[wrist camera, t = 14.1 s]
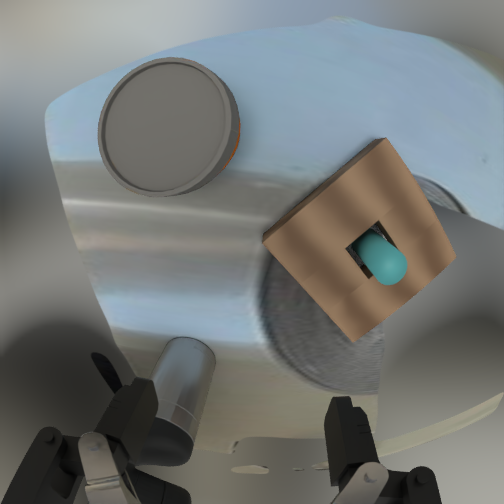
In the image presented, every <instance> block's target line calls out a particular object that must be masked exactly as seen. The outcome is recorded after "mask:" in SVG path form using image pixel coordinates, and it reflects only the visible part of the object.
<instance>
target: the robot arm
mask: <svg viewBox="0 0 504 504" xmlns="http://www.w3.org/2000/svg"><path fill="white" fill-rule="evenodd" d="M215 364H216V362H215V357H214V354H213V353H212V351H211V350H210V349H209V348H208V347H207V346H206V345H204V344H203V343H201V342H199V341H198V340H195V339H192V338H186V337H180V338H175V339H173V340H171V341H170V342H169V343H168V344H167V345H166V347H165V349H164V351H163V353H162V355H161V356H160V358H159V360H158V362H157V364H156V366H155V368H154V370H153V372H152V374H151V375H150V377H149V379H145V378H141V377H136V378H135V379H134V381H133V382H132V384H131V386H128V385H124V386H123V387H122V388H121V389H119V390H118V391H117V392H116V394H115V396H114V397H113V400H112V401H111V402H110V404H109V407H108V408H107V409H106V411H105V413H104V415H103V417H102V418H101V420H100V422H99V423H98V425H97V427H96V429H95V430H94V431H93V432H90V433H86V434H84V435H83V436H82V437H72V436H65V435H62V434H61V432H60V431H59V430H58V429H56V428H54V427H45V428H43V429H41V430H40V431H39V433H38V434H37V436H36V438H35V439H34V441H33V443H32V444H31V446H30V448H29V450H28V452H27V453H26V455H25V457H24V459H23V461H22V463H21V464H20V466H19V468H18V470H17V472H16V474H15V476H14V478H13V480H12V482H11V484H10V486H9V488H8V490H7V492H6V494H5V496H4V498H3V500H2V503H1V504H73V502H74V499H75V496H76V494H77V491H78V489H79V486H80V484H81V481H82V479H83V476H85V477H86V480H87V485H86V486H85V490H86V494H87V498H88V504H191V497H190V494H189V493H188V491H187V490H185V489H183V488H182V487H179V486H177V485H174V484H171V483H169V482H166V481H163V480H161V479H159V478H156V477H154V476H152V475H149V474H147V473H144V472H142V471H140V470H137V469H136V468H135V466H139V465H159V466H179V465H182V464H185V463H186V462H187V461H188V460H189V459H190V456H191V453H192V450H193V446H194V442H195V438H196V435H197V431H198V427H199V423H200V420H201V416H202V412H203V408H204V405H205V401H206V397H207V394H208V390H209V386H210V383H211V379H212V376H213V372H214V368H215ZM324 430H325V438H326V446H327V453H328V463H329V472H330V481H331V486H339V493H338V494H337V496H336V497H335V498H334V500H333V501H332V502H331V503H330V504H442V502H441V498H440V494H439V489H438V486H437V482H436V478H435V474H434V473H433V471H432V470H431V469H429V468H427V467H424V466H420V467H416V468H414V469H412V470H411V471H410V472H400V471H391V470H388V469H386V467H385V466H383V465H382V464H380V462H379V460H378V456H377V452H376V448H375V444H374V440H373V437H372V433H371V429H370V426H369V422H368V418H367V415H366V413H365V412H364V411H363V410H362V409H361V407H353V405H352V401H351V398H350V397H349V396H342V397H333V398H332V399H331V402H330V405H329V408H328V411H327V413H326V416H325V421H324Z"/></svg>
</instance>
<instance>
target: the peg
mask: <svg viewBox="0 0 504 504" xmlns="http://www.w3.org/2000/svg"><path fill="white" fill-rule="evenodd" d="M351 245H352V248H353V250H354V251H355V252H356V253H357V255H358V256H359V257H360V258H361V260H362V261H363V262H364V263H365V265H366V266H367V267H368V268H369V270H370V271H371V272H372V274H373V275H374V276H375V277H376V279H377V280H378V281H379V282H380V283H381V284H384V285H393V284H395V283H397V282H399V281H400V280H401V279H402V278H403V277H404V275H405V273H406V270H407V260H406V257H405V256H404V255H403V254H402V253H401V252H400V251H399V250H398V249H396V248H395V247H394V246H393V245H392V244H390V243H389V242H388V241H386V240H385V239H384V238H383V237H382V236H380V235H379V234H378V233H377V232H375V231H374V230H373V229H371V228H369V229H368V230H366V231H365V232H364V233H363V234H362V235H360V236H359V237H358V238H357V239H356V240H355V241H353V242H352V243H351Z"/></svg>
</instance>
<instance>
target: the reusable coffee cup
mask: <svg viewBox="0 0 504 504" xmlns="http://www.w3.org/2000/svg"><path fill="white" fill-rule="evenodd" d="M239 138H240V118H239V112H238V107H237V104H236V101H235V99H234V96H233V94H232V92H231V91H230V89H229V88H228V86H227V85H226V84H225V82H224V81H222V80H221V79H220V78H219V77H218V76H217V75H216V74H214V73H213V72H212V71H210V70H209V69H208V68H206V67H204V66H203V65H201V64H199V63H197V62H195V61H192V60H188V59H184V58H174V57H167V58H161V59H155V60H152V61H149V62H147V63H144V64H142V65H140V66H138V67H137V68H135V69H133V70H132V71H130V72H129V73H128V74H127V75H125V76H124V77H123V78H122V79H121V80H120V81H119V82H118V83H117V85H116V86H115V87H114V88H113V89H112V91H111V93H110V94H109V96H108V98H107V99H106V101H105V104H104V106H103V109H102V111H101V114H100V119H99V124H98V145H99V151H100V154H101V157H102V160H103V163H104V164H105V166H106V168H107V170H108V172H109V173H110V174H111V175H112V177H113V178H114V179H115V180H116V181H117V182H118V183H119V184H121V185H122V186H123V187H125V188H126V189H128V190H130V191H132V192H134V193H137V194H140V195H144V196H149V197H166V196H176V195H181V194H186V193H189V192H191V191H194V190H196V189H199V188H200V187H202V186H204V185H205V184H207V183H208V182H210V181H211V180H212V179H213V178H214V177H215V176H217V175H218V174H219V173H220V172H221V171H222V170H223V169H224V168H225V167H226V165H227V164H228V163H229V161H230V160H231V158H232V157H233V155H234V153H235V151H236V149H237V146H238V142H239Z"/></svg>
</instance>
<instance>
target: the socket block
mask: <svg viewBox="0 0 504 504" xmlns="http://www.w3.org/2000/svg"><path fill="white" fill-rule="evenodd" d="M375 223H376V225H377V226H378V227H379V229H380V230H381V232H382V233H383V235H384V236H385V238H386V239H387V241H388V242H389V243H390V244H392V245H393V246H394V247H395V248H396V249H398V250H399V251H400V252H401V253H402V254H403V255H404V256H405V257H406V260H407V270H406V273H405V275H404V277H403V278H402V279H401V280H400V281H399V282H397V283H395V284H393V285H384V284H381V283H380V282H379V281H378V280H377V279H376V277H375V276H374V275H373V274H372V272H371V271H370V270H369V268H368V267H367V266H366V265H365V264H364V265H363V266H362V267H361V268H360V267H359V266H358V265H357V263H356V262H355V261H354V259H353V258H352V257H351V255H350V254H349V253H348V252H347V250H346V249H345V248H346V247H347V246H348V245H350V244H351V243H352V242H353V241H355V240H356V239H357V238H358V237H359V236H360V235H362V234H363V233H364V232H365V231H366V230H368V229H369V228H370V227H371V226H372V225H373V224H375ZM262 244H263V245H264V246H265V247H266V248H267V249H268V250H269V251H270V252H271V253H272V254H273V255H274V256H275V258H276V259H277V260H278V261H279V262H280V263H281V264H282V265H283V266H284V267H285V268H286V269H287V271H288V272H289V273H290V274H291V275H292V276H293V277H294V278H295V279H296V280H297V281H298V283H299V284H300V285H301V286H302V287H303V288H304V289H305V290H306V291H307V292H308V293H309V295H310V296H311V297H312V298H313V299H314V300H315V301H316V302H317V303H318V304H319V306H320V307H321V308H322V309H323V310H324V311H325V312H326V313H327V314H328V315H329V317H330V318H331V319H332V320H333V321H334V322H335V323H336V324H337V325H338V327H339V328H340V329H341V330H342V331H343V332H344V333H345V334H346V335H347V337H348V338H349V339H350V340H351V341H352V342H354V341H356V340H357V339H359V338H360V337H362V336H363V335H364V334H366V333H367V332H369V331H370V330H371V329H373V328H374V327H375V326H377V325H378V324H379V323H381V322H382V321H383V320H385V319H386V318H387V317H388V316H390V315H391V314H392V313H394V312H395V311H396V310H397V309H399V308H400V307H401V306H402V305H404V304H405V303H406V302H407V301H408V300H410V299H411V298H412V297H413V296H414V295H416V294H417V293H418V292H419V291H420V290H421V289H423V288H424V287H425V286H426V285H427V284H428V283H429V282H430V281H431V280H433V279H434V278H435V277H436V276H437V275H438V274H439V273H440V272H441V271H442V270H444V269H445V268H446V267H447V266H448V265H449V264H450V263H451V262H452V261H453V260H454V259H455V258H456V255H455V253H454V250H453V248H452V246H451V244H450V242H449V240H448V238H447V236H446V234H445V232H444V230H443V228H442V226H441V224H440V222H439V220H438V218H437V216H436V214H435V213H434V211H433V209H432V207H431V205H430V204H429V202H428V200H427V198H426V197H425V195H424V193H423V192H422V190H421V188H420V187H419V185H418V183H417V182H416V180H415V179H414V177H413V175H412V174H411V172H410V171H409V169H408V168H407V166H406V165H405V163H404V162H403V160H402V159H401V157H400V156H399V154H398V153H397V152H396V150H395V149H394V147H393V146H392V145H391V143H390V142H389V140H388V139H387V138H380V139H375V140H374V141H372V142H371V143H370V144H369V145H368V146H366V147H365V148H364V149H363V150H362V151H361V152H359V153H358V154H357V155H356V156H355V157H353V158H352V159H351V160H350V161H349V162H348V163H346V164H345V165H344V166H343V167H342V168H340V169H339V170H338V171H337V172H336V173H335V174H333V175H332V176H331V177H330V178H329V179H327V180H326V181H325V182H324V183H323V184H322V185H320V186H319V187H318V188H317V189H316V190H314V191H313V192H312V193H311V194H310V195H309V196H307V197H306V198H305V199H304V200H303V201H302V202H300V203H299V204H298V205H297V206H296V207H294V208H293V209H292V210H291V211H290V212H289V213H287V214H286V215H285V216H284V217H283V218H282V219H280V220H279V221H278V222H277V223H276V224H275V225H273V226H272V227H271V228H270V229H269V230H268V231H266V232H265V233H264V234H263V240H262Z"/></svg>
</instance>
